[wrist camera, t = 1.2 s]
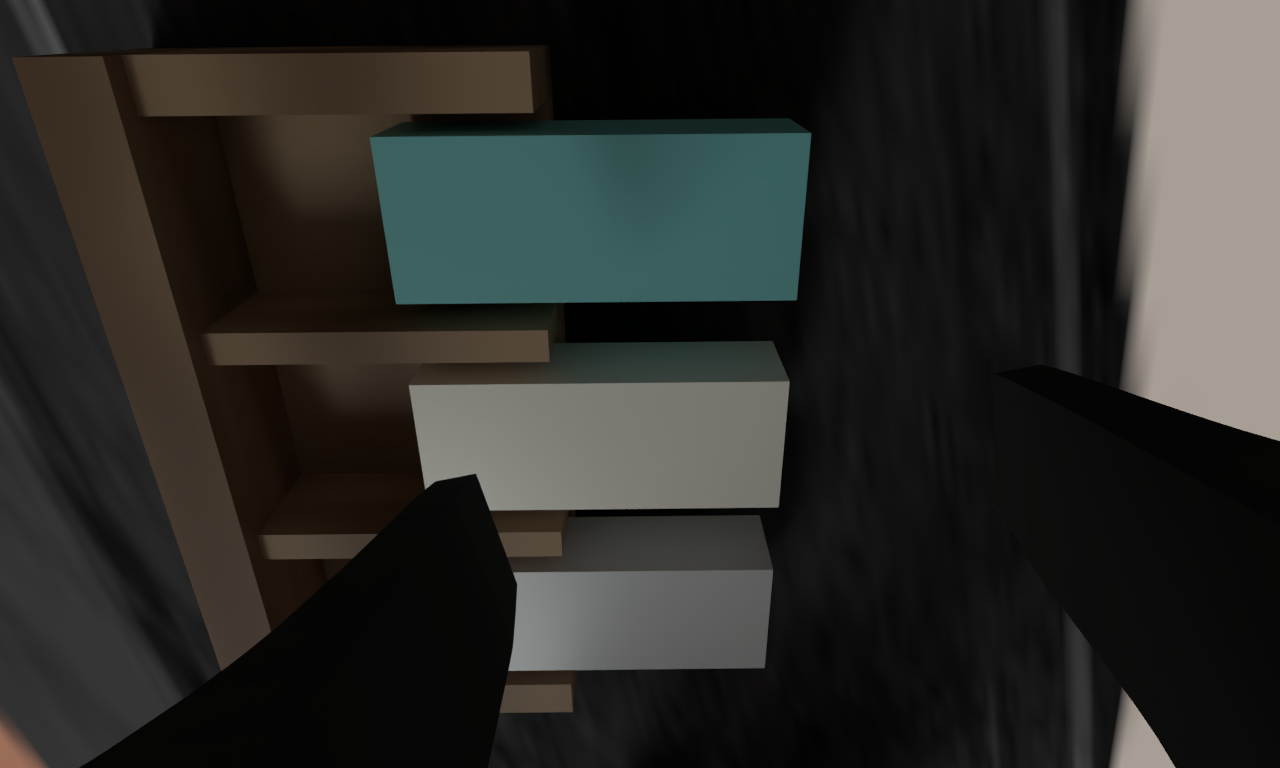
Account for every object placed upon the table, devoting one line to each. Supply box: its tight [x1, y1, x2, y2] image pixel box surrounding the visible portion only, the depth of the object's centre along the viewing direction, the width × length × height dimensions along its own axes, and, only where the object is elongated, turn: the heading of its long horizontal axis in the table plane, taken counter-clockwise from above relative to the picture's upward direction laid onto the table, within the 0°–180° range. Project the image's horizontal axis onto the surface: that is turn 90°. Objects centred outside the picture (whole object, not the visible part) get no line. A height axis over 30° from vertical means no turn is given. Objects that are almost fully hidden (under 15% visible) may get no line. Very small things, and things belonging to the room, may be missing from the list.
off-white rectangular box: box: [409, 341, 790, 510], centre depth 18 cm, size 8×3×2 cm, turn 91°
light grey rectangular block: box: [507, 515, 773, 671], centre depth 20 cm, size 8×3×2 cm, turn 90°
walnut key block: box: [12, 45, 576, 713], centre depth 18 cm, size 8×16×4 cm, turn 0°
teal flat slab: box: [370, 118, 811, 304], centre depth 15 cm, size 8×3×2 cm, turn 90°
